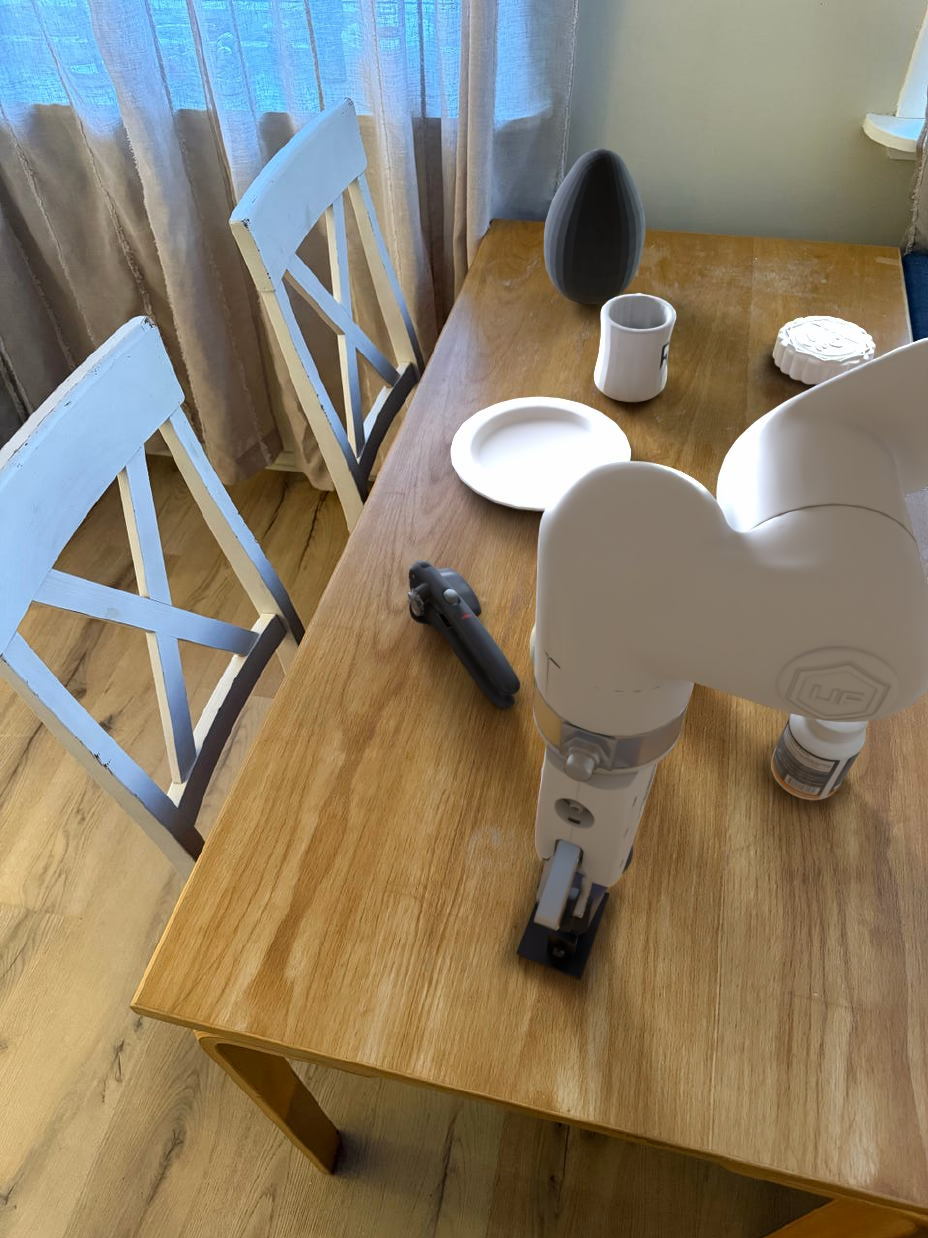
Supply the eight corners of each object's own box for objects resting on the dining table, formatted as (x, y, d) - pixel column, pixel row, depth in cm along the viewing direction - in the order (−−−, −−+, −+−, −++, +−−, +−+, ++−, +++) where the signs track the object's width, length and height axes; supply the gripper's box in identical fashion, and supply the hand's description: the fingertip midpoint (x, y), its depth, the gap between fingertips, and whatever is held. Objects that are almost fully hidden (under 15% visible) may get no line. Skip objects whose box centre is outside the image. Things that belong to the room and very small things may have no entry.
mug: (665, 407, 107) (677, 334, 99) (591, 402, 108) (598, 330, 101) (665, 352, 115) (677, 281, 107) (596, 348, 116) (603, 277, 109)
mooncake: (753, 360, 113) (759, 335, 110) (807, 326, 118) (814, 301, 115) (833, 400, 107) (842, 374, 104) (886, 362, 112) (896, 337, 109)
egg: (529, 282, 128) (533, 137, 113) (616, 268, 130) (631, 123, 115) (559, 329, 119) (568, 179, 104) (651, 314, 121) (673, 164, 106)
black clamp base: (609, 894, 67) (613, 875, 64) (580, 981, 63) (584, 964, 60) (548, 871, 68) (550, 851, 65) (516, 954, 64) (516, 936, 61)
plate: (427, 501, 97) (426, 489, 96) (479, 395, 110) (479, 384, 108) (611, 536, 92) (612, 524, 91) (643, 421, 105) (645, 409, 104)
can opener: (393, 600, 87) (388, 561, 83) (454, 575, 89) (452, 536, 85) (476, 729, 77) (475, 692, 73) (543, 698, 79) (546, 660, 75)
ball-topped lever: (647, 819, 53) (585, 795, 54) (628, 876, 51) (565, 849, 52) (602, 909, 65) (552, 888, 66) (585, 959, 63) (534, 936, 64)
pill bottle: (811, 736, 75) (846, 666, 68) (853, 790, 72) (895, 723, 64) (755, 757, 74) (784, 689, 67) (795, 813, 71) (831, 747, 63)
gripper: (635, 875, 36) (603, 1004, 49) (724, 592, 46) (678, 761, 59) (470, 815, 38) (481, 953, 51) (590, 557, 49) (574, 727, 62)
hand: (587, 850), depth 55 cm, fingers open, 9 cm apart
